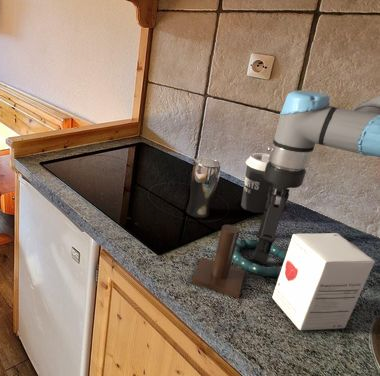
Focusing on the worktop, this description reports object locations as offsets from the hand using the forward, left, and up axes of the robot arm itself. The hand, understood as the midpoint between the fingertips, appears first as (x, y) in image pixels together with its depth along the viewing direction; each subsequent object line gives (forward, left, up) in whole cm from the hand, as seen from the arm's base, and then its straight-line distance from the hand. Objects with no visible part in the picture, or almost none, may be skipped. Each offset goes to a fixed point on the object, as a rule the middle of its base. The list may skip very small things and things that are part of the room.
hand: (261, 248), depth 96 cm
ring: (0, +6, +1) cm, 6 cm away
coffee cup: (+4, -22, 0) cm, 23 cm away
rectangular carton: (-9, +20, 0) cm, 22 cm away
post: (+7, +18, 0) cm, 19 cm away
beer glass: (+17, -10, 0) cm, 20 cm away
